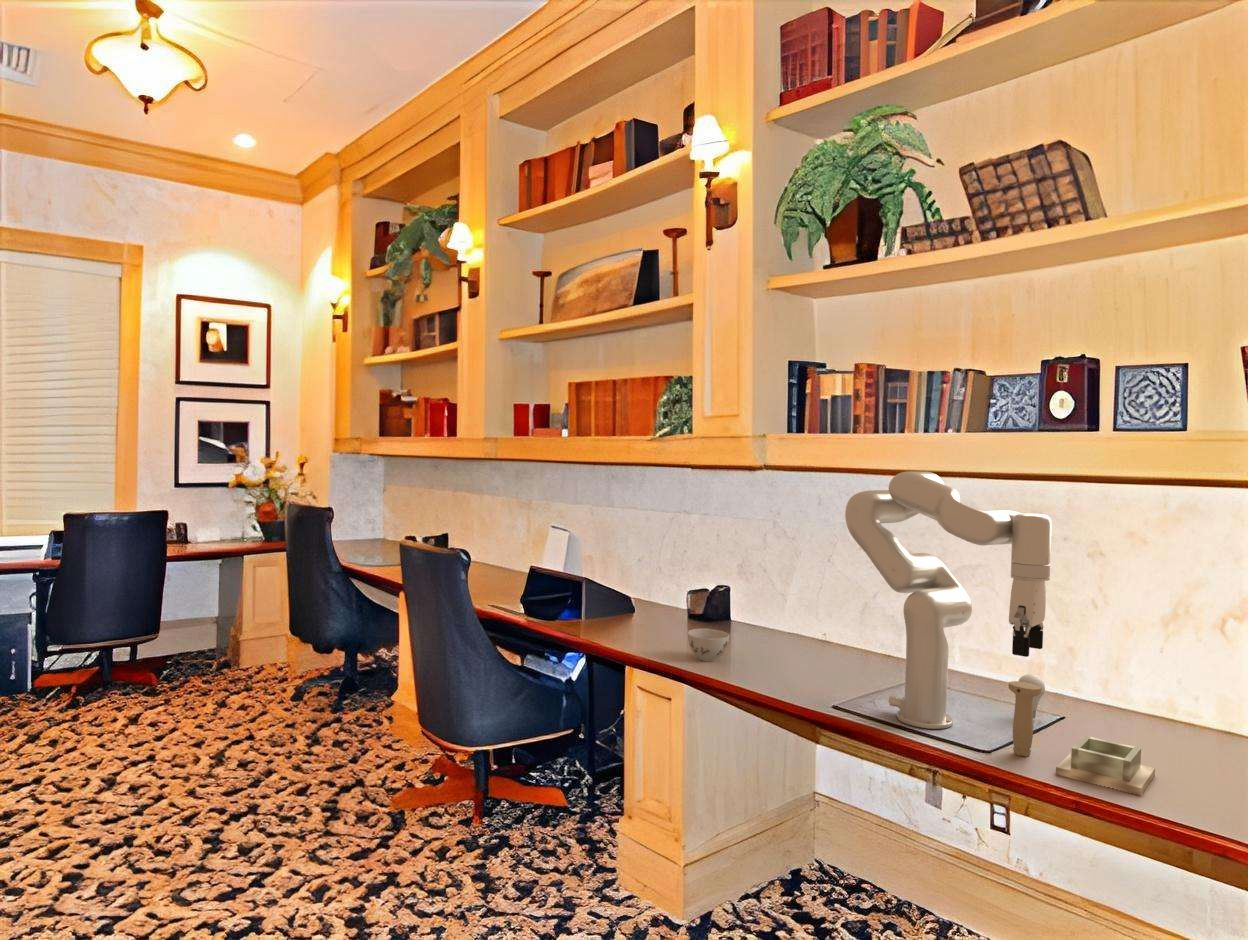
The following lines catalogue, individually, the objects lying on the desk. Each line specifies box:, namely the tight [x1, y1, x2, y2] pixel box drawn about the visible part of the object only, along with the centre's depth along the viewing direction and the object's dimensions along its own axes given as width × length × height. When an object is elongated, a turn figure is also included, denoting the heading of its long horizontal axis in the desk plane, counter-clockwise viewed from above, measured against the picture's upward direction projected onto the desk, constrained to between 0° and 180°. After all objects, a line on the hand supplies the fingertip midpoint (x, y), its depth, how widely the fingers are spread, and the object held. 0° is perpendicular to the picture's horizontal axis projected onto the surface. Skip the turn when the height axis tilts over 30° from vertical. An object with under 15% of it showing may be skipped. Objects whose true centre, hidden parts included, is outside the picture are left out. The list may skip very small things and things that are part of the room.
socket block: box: [1055, 735, 1156, 796], centre depth 175 cm, size 15×14×6 cm
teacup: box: [687, 628, 730, 662], centre depth 260 cm, size 15×12×8 cm
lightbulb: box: [1018, 673, 1046, 719], centre depth 209 cm, size 6×6×11 cm
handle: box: [1008, 680, 1041, 758], centre depth 185 cm, size 5×6×15 cm
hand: (1027, 651), depth 184 cm, fingers open, 9 cm apart
